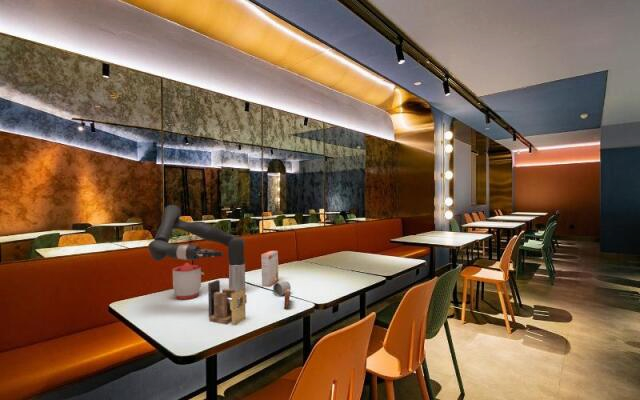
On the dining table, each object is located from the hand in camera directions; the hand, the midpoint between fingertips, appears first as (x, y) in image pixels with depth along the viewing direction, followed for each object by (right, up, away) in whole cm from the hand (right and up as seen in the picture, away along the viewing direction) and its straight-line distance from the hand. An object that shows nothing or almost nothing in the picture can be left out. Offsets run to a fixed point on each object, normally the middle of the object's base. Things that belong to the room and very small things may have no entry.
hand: (221, 254), depth 157 cm
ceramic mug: (+26, -29, +29) cm, 48 cm away
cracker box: (+16, -29, +51) cm, 61 cm away
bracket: (+4, -29, -9) cm, 31 cm away
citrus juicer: (-27, -29, +26) cm, 48 cm away
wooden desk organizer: (+5, -28, -9) cm, 30 cm away
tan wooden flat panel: (+12, -29, -12) cm, 33 cm away
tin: (+32, -29, +9) cm, 44 cm away
